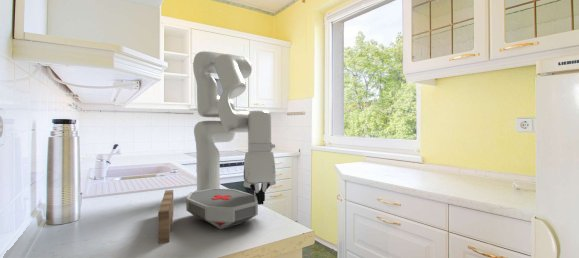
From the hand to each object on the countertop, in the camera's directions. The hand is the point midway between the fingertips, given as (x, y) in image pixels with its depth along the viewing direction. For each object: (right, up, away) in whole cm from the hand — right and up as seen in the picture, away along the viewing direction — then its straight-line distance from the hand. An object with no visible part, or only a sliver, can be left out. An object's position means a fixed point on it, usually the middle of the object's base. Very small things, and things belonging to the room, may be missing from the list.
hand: (259, 203), depth 96 cm
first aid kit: (-12, -5, -4) cm, 13 cm away
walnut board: (-27, -4, -9) cm, 29 cm away
